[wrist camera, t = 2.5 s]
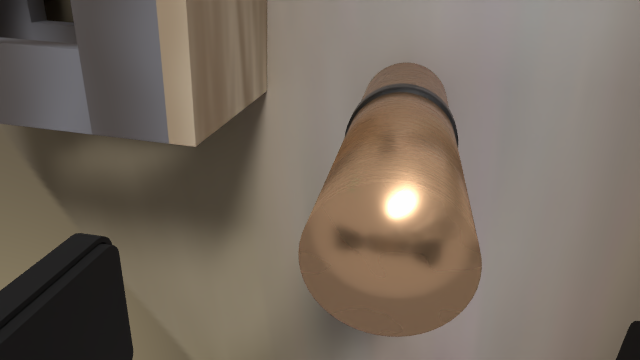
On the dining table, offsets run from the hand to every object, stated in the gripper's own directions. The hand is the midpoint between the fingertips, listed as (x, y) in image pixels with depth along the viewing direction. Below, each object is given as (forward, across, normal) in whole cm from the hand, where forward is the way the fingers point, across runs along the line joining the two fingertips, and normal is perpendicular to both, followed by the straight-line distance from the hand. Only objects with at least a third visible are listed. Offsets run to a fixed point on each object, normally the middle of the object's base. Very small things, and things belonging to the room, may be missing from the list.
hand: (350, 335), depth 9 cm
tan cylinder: (+16, -1, 0) cm, 16 cm away
